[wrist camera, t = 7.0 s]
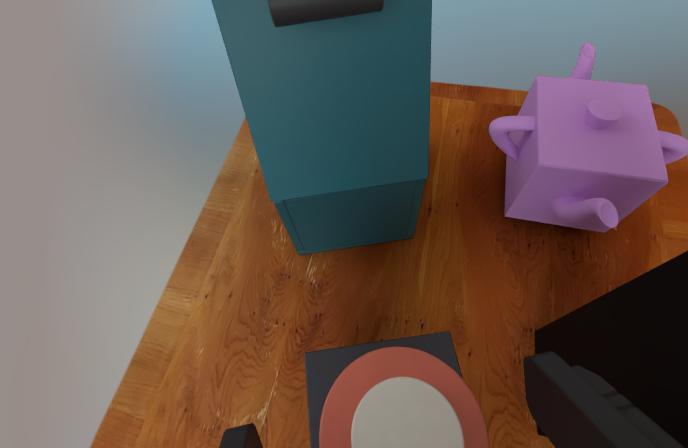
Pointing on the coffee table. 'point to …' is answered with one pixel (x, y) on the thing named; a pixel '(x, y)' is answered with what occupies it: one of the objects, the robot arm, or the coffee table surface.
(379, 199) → the wipes case
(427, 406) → the lotion bottle
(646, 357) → the tissue box
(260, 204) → the coffee table surface
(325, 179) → the case lid
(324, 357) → the stand
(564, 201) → the teapot
